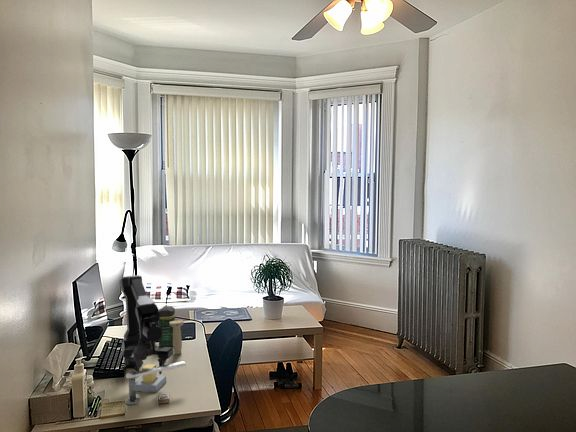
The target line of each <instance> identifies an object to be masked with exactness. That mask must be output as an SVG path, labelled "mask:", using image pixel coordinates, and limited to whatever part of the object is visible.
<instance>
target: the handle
mask: <svg viewBox="0 0 576 432" xmlns="http://www.w3.org/2000/svg"><path fill="white" fill-rule="evenodd" d="M184 323H185V322H184V320H183V319H181V320H179V319H177V320H176V319H175V321H171V322H169V324H170V326H171V327H173V346H172V349H173V350H174V355H180V354H182V348H183V344H182V343H183V341H182V339H183V338H182V331H181V330H182V329H181V328H182V326H183V325H184Z"/></svg>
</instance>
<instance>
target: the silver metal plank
mask: <svg viewBox="0 0 576 432" xmlns="http://www.w3.org/2000/svg"><path fill="white" fill-rule="evenodd" d="M186 365H187V364H186V362H185V361H184V360H182V361H177V362H173V363H169V364H165V365H164V366H159V365H158V366H156V367H155V368H151V369H146V370H142V369H141V370H140V371H137V372H136V371H130V372H127V373H126V374H125V378H126V379H127V380H128V379H133V378H135V379H136V378H138V377H142V376H143V375H147V374H151V373H155V372H156V373H159V372H160V371H162V372H163V371H168V370H173V369H177V368H181V367H186Z"/></svg>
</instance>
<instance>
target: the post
mask: <svg viewBox="0 0 576 432" xmlns="http://www.w3.org/2000/svg"><path fill="white" fill-rule="evenodd" d="M127 380H128V381H127V382H128V395H129V396H128V398H127V399H126V400H125V405H127V406H135V405H137V404H140V402H141V399H140V398H139V397H137V391H136V378H133V379H127Z"/></svg>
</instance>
